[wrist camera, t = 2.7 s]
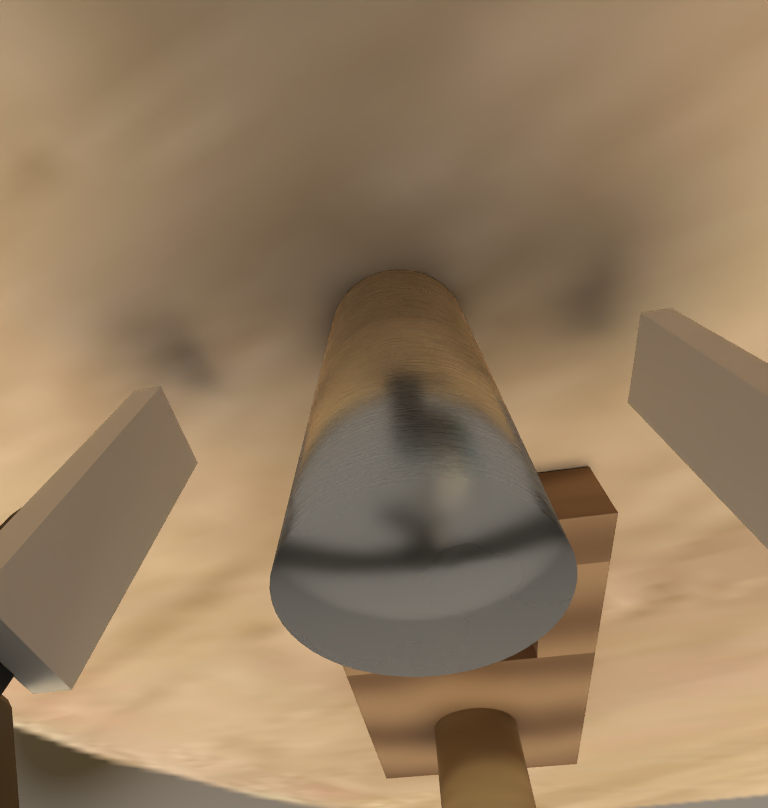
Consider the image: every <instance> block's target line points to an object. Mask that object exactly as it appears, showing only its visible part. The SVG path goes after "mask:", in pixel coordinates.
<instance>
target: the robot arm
mask: <svg viewBox="0 0 768 808" xmlns="http://www.w3.org/2000/svg"><path fill="white" fill-rule="evenodd" d="M628 403H629V404H630V405H631V406H632V408H633V409H634V410H635V411H636V412H637V413H638V414H639V415H640V416H641V417H642V418H643V419H644V420H645V421H646V422H647V423H648V424H649V425H650V426H651V427H652V428H653V430H654V431H655V432H656V433H657V434H658V435H659V436H660V437H661V438H662V439H663V440H664V441H665V442H666V443H667V444H668V445H669V446H670V447H671V448H672V449H673V450H674V451H675V453H676V454H677V455H678V456H679V457H680V458H681V459H682V460H683V461H684V462H685V463H686V464H687V465H688V466H689V467H690V468H691V469H692V470H693V471H694V472H695V473H696V475H697V476H698V477H699V478H700V479H701V480H702V481H703V482H704V483H705V484H706V485H707V486H708V487H709V488H710V489H711V490H712V491H713V492H714V493H715V494H716V495H717V497H718V498H719V499H720V500H721V501H722V502H723V503H724V504H725V505H726V506H727V507H728V508H729V509H730V510H731V511H732V512H733V513H734V514H735V515H736V516H737V517H738V519H739V520H740V521H741V522H742V523H743V524H744V525H745V526H746V527H747V528H748V529H749V530H750V531H751V532H752V533H753V534H754V535H755V536H756V537H757V538H758V539H759V541H760V542H761V543H762V544H763V545H764V546H765V547H766V548H767V549H768V363H766V362H764V361H763V360H761V359H759V358H757V357H756V356H754V355H752V354H750V353H749V352H747V351H745V350H743V349H742V348H740V347H738V346H736V345H735V344H733V343H731V342H729V341H728V340H726V339H724V338H722V337H721V336H719V335H717V334H715V333H714V332H712V331H710V330H708V329H707V328H705V327H703V326H701V325H700V324H698V323H696V322H694V321H693V320H691V319H689V318H687V317H686V316H684V315H682V314H680V313H679V312H677V311H675V310H673V309H672V308H670V309H663V310H657V311H650V312H644V313H641V316H640V323H639V330H638V337H637V344H636V351H635V357H634V364H633V371H632V378H631V385H630V392H629V399H628ZM196 465H197V461H196V458H195V456H194V454H193V452H192V450H191V448H190V446H189V444H188V442H187V440H186V438H185V436H184V433H183V431H182V429H181V427H180V425H179V423H178V421H177V419H176V417H175V415H174V413H173V411H172V409H171V406H170V404H169V402H168V400H167V398H166V396H165V394H164V392H163V390H162V388H161V387H154V388H147V389H141V390H135V391H134V392H133V393H132V394H131V395H130V396H129V397H128V398H127V399H126V400H125V401H124V402H123V403H122V404H121V405H120V407H119V408H118V409H117V410H116V411H115V412H114V413H113V414H112V415H111V416H110V417H109V418H108V419H107V420H106V421H105V422H104V423H103V424H102V425H101V426H100V427H99V428H98V429H97V430H96V431H95V432H94V433H93V435H92V436H91V437H90V438H89V439H88V440H87V441H86V442H85V443H84V444H83V445H82V446H81V447H80V448H79V449H78V450H77V451H76V452H75V453H74V454H73V455H72V456H71V457H70V458H69V459H68V460H67V461H66V463H65V464H64V465H63V466H62V467H61V468H60V469H59V470H58V471H57V472H56V473H55V474H54V475H53V476H52V477H51V478H50V479H49V480H48V481H47V482H46V483H45V484H44V485H43V486H42V487H41V488H40V489H39V491H38V492H37V493H36V494H35V495H34V496H33V497H32V498H31V499H30V500H29V501H28V502H27V503H26V504H25V505H24V506H23V507H22V508H20V509H19V510H18V511H16V512H15V513H13V514H12V515H11V516H10V517H9V518H8V519H7V520H6V521H5V522H4V523H3V524H2V525H1V526H0V808H19V799H18V785H17V772H16V759H15V745H14V731H13V718H12V707H11V705H10V703H9V701H8V699H6V698H5V697H4V696H3V695H2V693H3V692H4V690H5V689H6V687H7V686H8V684H9V683H10V681H11V680H12V678H13V677H15V678H16V679H17V680H18V681H19V682H20V683H21V684H22V685H24V686H25V687H26V688H27V689H28V690H29V691H30V692H31V693H32V694H36V693H46V692H55V691H65V690H72V688H73V686H74V685H75V683H76V681H77V679H78V677H79V676H80V674H81V672H82V670H83V668H84V667H85V665H86V663H87V661H88V659H89V658H90V656H91V654H92V652H93V650H94V649H95V647H96V645H97V643H98V641H99V640H100V638H101V636H102V634H103V632H104V631H105V629H106V627H107V625H108V623H109V622H110V620H111V618H112V616H113V614H114V613H115V611H116V609H117V607H118V605H119V603H120V602H121V600H122V598H123V596H124V594H125V593H126V591H127V589H128V587H129V585H130V584H131V582H132V580H133V578H134V576H135V575H136V573H137V571H138V569H139V567H140V566H141V564H142V562H143V560H144V558H145V557H146V555H147V553H148V551H149V549H150V548H151V546H152V544H153V542H154V540H155V539H156V537H157V535H158V533H159V531H160V530H161V528H162V526H163V524H164V522H165V521H166V519H167V517H168V515H169V513H170V512H171V510H172V508H173V506H174V504H175V503H176V501H177V499H178V497H179V495H180V494H181V492H182V490H183V488H184V486H185V485H186V483H187V481H188V479H189V477H190V476H191V474H192V472H193V470H194V468H195V467H196Z"/></svg>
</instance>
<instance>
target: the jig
mask: <svg viewBox="0 0 768 808" xmlns="http://www.w3.org/2000/svg"><path fill="white" fill-rule="evenodd" d="M537 474H538V476H539V478H540V481H541V483H542V485H543V487H544V489H545V491H546V494H547V496H548V498H549V500H550V502H551V504H552V506H553V509H554V511H555V513H556V515H557V517H558V519H559V522H560V524H561V526H562V528H563V530H564V532H565V534H566V537H567V539H568V541H569V543H570V545H571V548H572V550H573V552H574V554H575V559H576V564H577V584H576V589H575V593H574V596H573V598H572V600H571V603H570V605H569V607H568V608H567V610H566V612H565V613H564V615H563V616H562V618H561V619H560V620H559V621H558V622H557V623H556V625H555V626H554V627H553V628H552V629H551V630H550V631H548V632H547V633H546V634H545V635H544V636H543V637H542V638H540V639H539V640H537V641H536V642H535V643H533V644H532V645H530V646H529V647H527V648H525V649H524V650H522V651H520V652H518V653H517V654H515V655H512V656H510V657H508V658H506V659H504V660H501V661H499V662H496V663H493V664H490V665H488V666H484V667H481V668H477V669H474V670H470V671H465V672H460V673H455V674H448V675H440V676H427V677H401V676H389V675H381V674H375V673H369V672H365V671H361V670H356V669H353V668H350V667H347V666H344V665H343V667H344V670H345V673H346V675H347V678H348V680H349V683H350V685H351V688H352V691H353V693H354V696H355V698H356V701H357V703H358V706H359V709H360V711H361V714H362V716H363V719H364V721H365V724H366V727H367V729H368V732H369V734H370V737H371V739H372V742H373V745H374V747H375V750H376V752H377V755H378V757H379V760H380V763H381V765H382V768H383V770H384V773H385V775H386V778H399V777H412V776H426V775H439V783H440V794H441V805H442V808H536V805H535V801H534V796H533V792H532V788H531V784H530V779H529V775H528V771H527V768H530V767H543V766H556V765H569V764H577V759H578V753H579V747H580V741H581V735H582V729H583V723H584V716H585V710H586V704H587V698H588V692H589V686H590V680H591V674H592V668H593V662H594V656H595V650H596V644H597V637H598V631H599V625H600V619H601V613H602V607H603V601H604V595H605V589H606V583H607V577H608V571H609V565H610V559H611V552H612V546H613V540H614V534H615V528H616V522H617V516H618V512H617V510H616V509H615V507H614V506H613V504H612V502H611V501H610V499H609V498H608V496H607V495H606V493H605V491H604V490H603V488H602V487H601V485H600V483H599V482H598V480H597V479H596V477H595V475H594V474H593V472H592V471H591V469H590V467H584V468H576V469H568V470H560V471H552V472H544V473H537Z"/></svg>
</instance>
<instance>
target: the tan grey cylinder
mask: <svg viewBox="0 0 768 808" xmlns="http://www.w3.org/2000/svg"><path fill="white" fill-rule="evenodd" d="M576 584H577V564H576V559H575V554H574V552H573V550H572V548H571V545H570V543H569V541H568V539H567V537H566V534H565V532H564V530H563V528H562V526H561V524H560V522H559V519H558V517H557V515H556V513H555V511H554V509H553V506H552V504H551V502H550V500H549V498H548V496H547V494H546V491H545V489H544V487H543V485H542V483H541V481H540V478H539V476H538V474H537V472H536V470H535V468H534V466H533V463H532V461H531V459H530V457H529V455H528V453H527V450H526V448H525V446H524V444H523V442H522V440H521V438H520V435H519V433H518V431H517V429H516V427H515V425H514V422H513V420H512V418H511V416H510V414H509V412H508V410H507V407H506V405H505V403H504V401H503V399H502V397H501V394H500V392H499V390H498V388H497V386H496V384H495V381H494V379H493V377H492V375H491V373H490V371H489V369H488V366H487V364H486V362H485V360H484V358H483V356H482V353H481V351H480V349H479V347H478V345H477V343H476V341H475V338H474V336H473V334H472V332H471V330H470V328H469V325H468V323H467V321H466V319H465V317H464V315H463V313H462V310H461V308H460V306H459V304H458V302H457V301H456V299H455V297H454V296H453V295H452V293H451V292H450V291H449V290H448V289H447V288H446V287H445V286H444V285H442V284H441V283H440V282H438V281H437V280H435V279H434V278H432V277H430V276H427V275H425V274H422V273H419V272H416V271H410V270H389V271H384V272H380V273H377V274H374V275H372V276H369V277H367V278H366V279H364V280H362V281H360V282H359V283H358V284H356V285H355V286H354V287H353V288H352V289H351V290H350V291H349V292H348V293H347V294H346V295H345V296H344V298H343V299H342V300H341V302H340V304H339V306H338V307H337V310H336V312H335V315H334V319H333V322H332V326H331V331H330V335H329V339H328V343H327V347H326V351H325V355H324V359H323V363H322V367H321V371H320V375H319V379H318V384H317V388H316V392H315V396H314V400H313V404H312V408H311V412H310V416H309V420H308V424H307V428H306V432H305V436H304V441H303V445H302V449H301V453H300V457H299V461H298V465H297V469H296V473H295V477H294V481H293V485H292V489H291V494H290V498H289V502H288V506H287V510H286V514H285V518H284V522H283V526H282V530H281V534H280V538H279V542H278V546H277V551H276V555H275V559H274V563H273V567H272V571H271V575H270V594H271V600H272V603H273V606H274V609H275V612H276V614H277V615H278V617H279V619H280V620H281V622H282V624H283V625H284V626H285V627H286V629H287V630H288V631H289V632H290V633H291V634H292V635H293V636H294V637H295V638H296V639H297V640H298V641H299V642H300V643H302V644H303V645H305V646H306V647H307V648H309V649H310V650H312V651H313V652H315V653H317V654H319V655H321V656H322V657H324V658H326V659H328V660H331V661H333V662H336V663H338V664H340V665H344V666H347V667H350V668H353V669H356V670H361V671H365V672H369V673H375V674H381V675H389V676H401V677H427V676H440V675H448V674H455V673H460V672H465V671H470V670H474V669H477V668H481V667H484V666H488V665H490V664H493V663H496V662H499V661H501V660H504V659H506V658H508V657H510V656H512V655H515V654H517V653H518V652H520V651H522V650H524V649H525V648H527V647H529V646H530V645H532V644H533V643H535V642H536V641H537V640H539V639H540V638H542V637H543V636H544V635H545V634H546V633H547V632H548V631H550V630H551V629H552V628H553V627H554V626H555V625H556V623H557V622H558V621H559V620H560V619H561V618H562V616H563V615H564V613H565V612H566V610H567V608H568V607H569V605H570V603H571V600H572V598H573V596H574V593H575V589H576Z"/></svg>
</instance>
